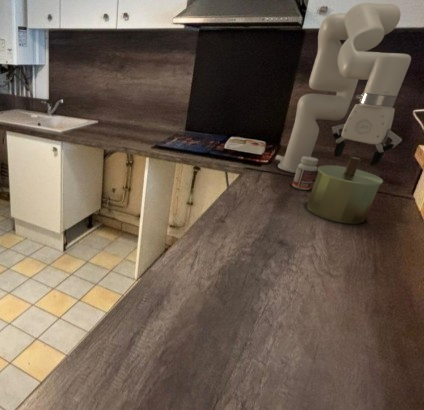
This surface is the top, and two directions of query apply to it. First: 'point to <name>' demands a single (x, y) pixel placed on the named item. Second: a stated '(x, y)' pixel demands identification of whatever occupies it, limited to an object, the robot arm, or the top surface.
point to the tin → (340, 200)
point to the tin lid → (350, 173)
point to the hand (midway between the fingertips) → (354, 160)
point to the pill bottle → (305, 173)
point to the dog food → (245, 145)
